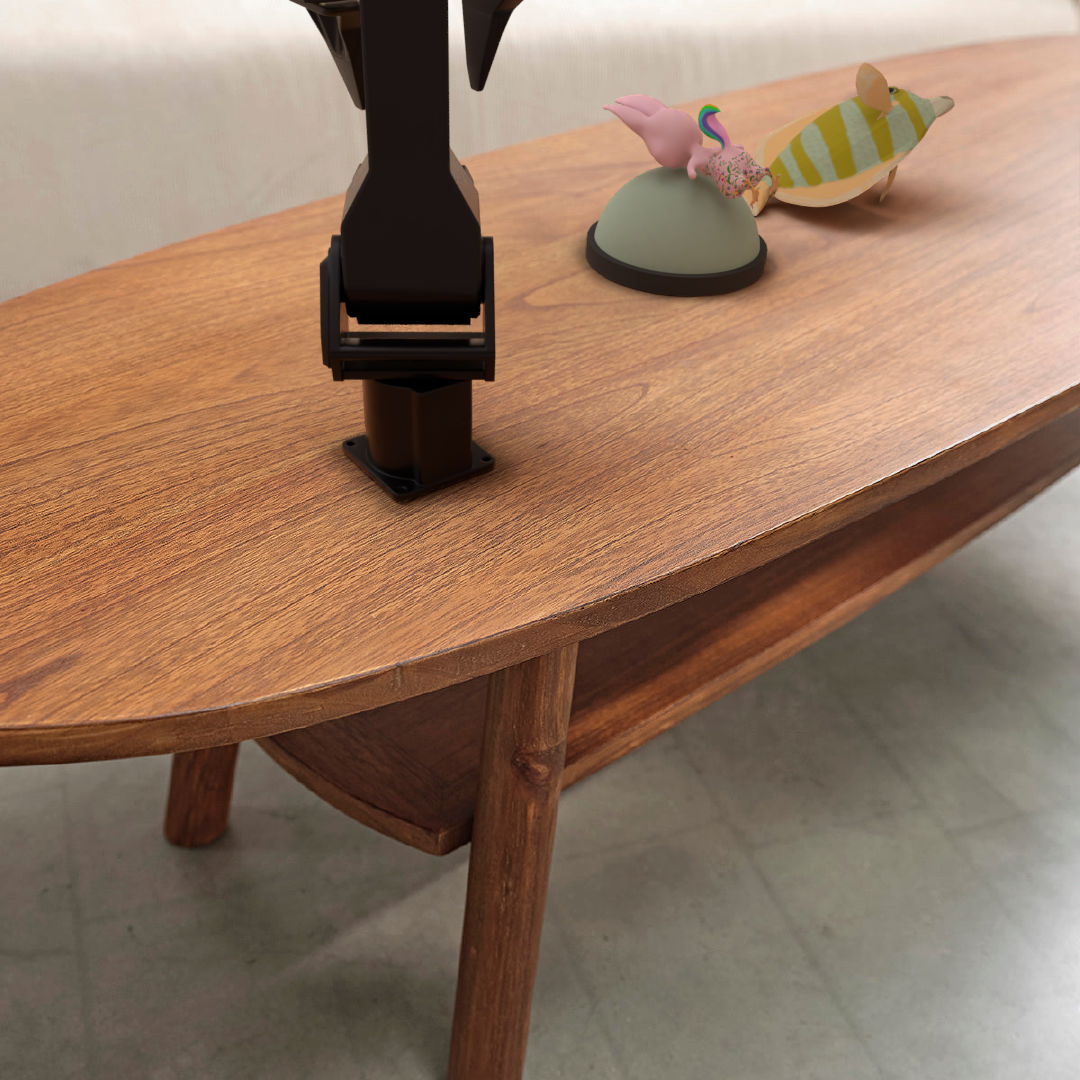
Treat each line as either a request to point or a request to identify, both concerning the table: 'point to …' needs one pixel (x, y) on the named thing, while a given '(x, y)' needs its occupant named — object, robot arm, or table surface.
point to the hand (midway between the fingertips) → (420, 99)
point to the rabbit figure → (692, 144)
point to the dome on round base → (676, 237)
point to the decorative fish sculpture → (845, 144)
